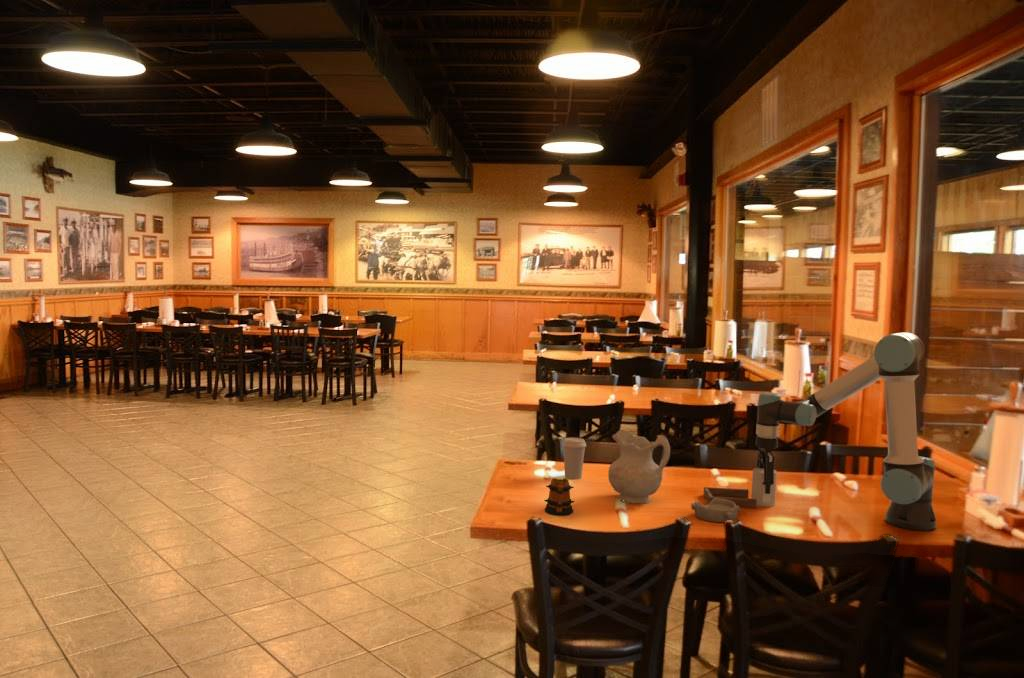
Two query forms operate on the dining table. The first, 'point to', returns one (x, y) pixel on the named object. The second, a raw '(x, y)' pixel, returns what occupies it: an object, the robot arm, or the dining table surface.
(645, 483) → the ceramic pitcher
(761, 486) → the cup
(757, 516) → the dining table surface
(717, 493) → the u rest
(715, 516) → the dish
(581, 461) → the coffee cup
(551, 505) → the brown tiered piece
